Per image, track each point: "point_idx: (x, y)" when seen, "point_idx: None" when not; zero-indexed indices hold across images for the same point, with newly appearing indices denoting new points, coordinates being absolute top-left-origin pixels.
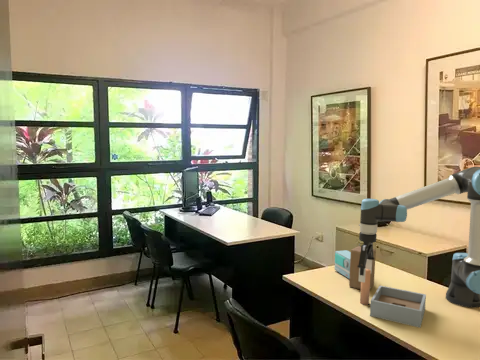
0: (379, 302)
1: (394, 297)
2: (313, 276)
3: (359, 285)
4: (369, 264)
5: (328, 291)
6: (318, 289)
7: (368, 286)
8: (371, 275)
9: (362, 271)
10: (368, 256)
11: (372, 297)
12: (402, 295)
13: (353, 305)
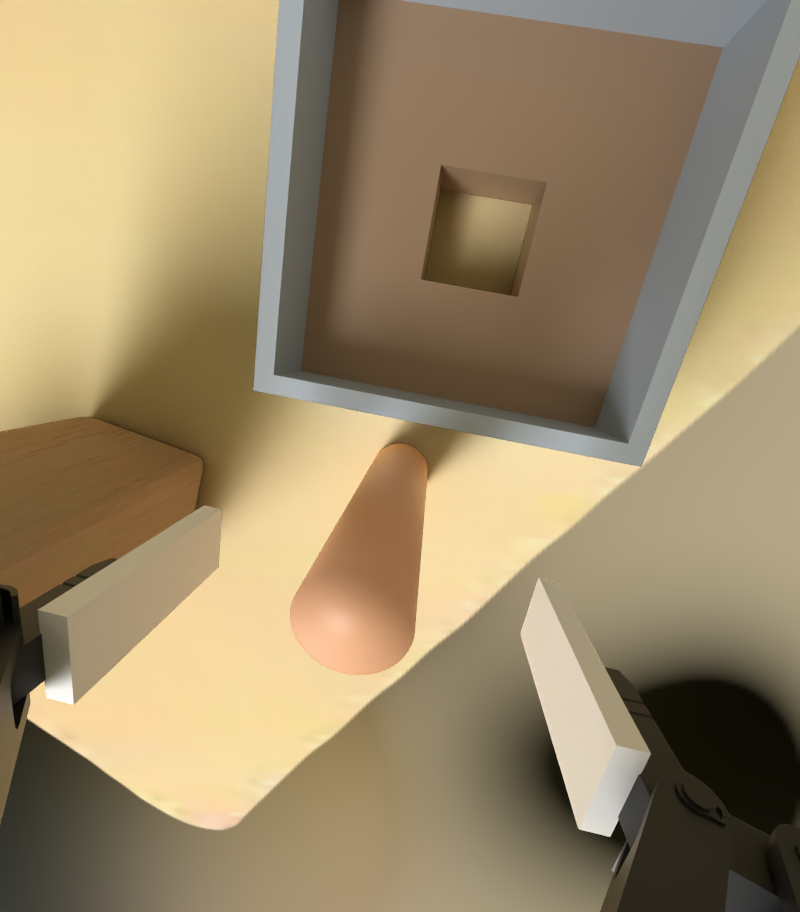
0: (666, 394)
1: (313, 265)
2: (140, 730)
3: (182, 514)
4: (138, 595)
5: (311, 658)
6: (308, 703)
7: (411, 498)
8: (59, 460)
9: (655, 742)
10: (6, 746)
11: (570, 452)
12: (308, 183)
13: (459, 530)
